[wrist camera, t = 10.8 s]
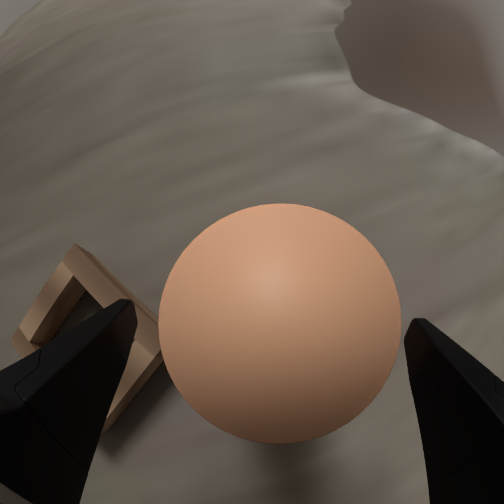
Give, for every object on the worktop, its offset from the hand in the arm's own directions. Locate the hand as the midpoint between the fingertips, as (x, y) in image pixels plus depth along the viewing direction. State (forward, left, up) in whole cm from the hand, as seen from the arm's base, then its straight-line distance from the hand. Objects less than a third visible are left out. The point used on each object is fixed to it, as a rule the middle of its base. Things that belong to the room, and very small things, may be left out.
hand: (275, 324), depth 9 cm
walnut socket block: (-8, +8, -10) cm, 15 cm away
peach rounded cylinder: (0, 0, -9) cm, 9 cm away
